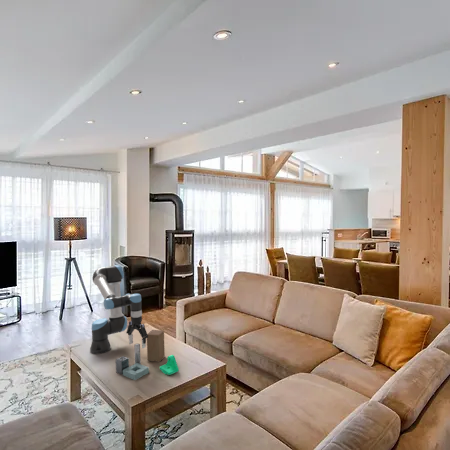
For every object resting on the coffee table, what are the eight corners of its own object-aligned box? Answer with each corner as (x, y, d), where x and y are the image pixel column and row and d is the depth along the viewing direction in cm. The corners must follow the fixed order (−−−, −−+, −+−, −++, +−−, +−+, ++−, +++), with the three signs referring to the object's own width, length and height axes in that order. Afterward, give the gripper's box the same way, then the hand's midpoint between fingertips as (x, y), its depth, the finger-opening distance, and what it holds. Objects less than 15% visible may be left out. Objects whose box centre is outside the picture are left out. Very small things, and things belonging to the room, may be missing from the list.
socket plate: (122, 375, 216) (122, 370, 216) (137, 367, 226) (136, 362, 225) (134, 380, 209) (134, 375, 209) (148, 372, 219) (148, 367, 219)
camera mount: (159, 370, 222) (158, 355, 221) (168, 366, 227) (168, 352, 227) (169, 376, 213) (168, 361, 213) (178, 372, 219) (178, 357, 218)
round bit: (133, 364, 231) (133, 345, 230) (138, 362, 234) (137, 343, 233) (137, 365, 228) (136, 346, 228) (141, 363, 232) (141, 344, 231)
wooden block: (159, 362, 233) (159, 335, 232) (146, 361, 235) (146, 334, 234) (165, 356, 243) (164, 329, 242) (152, 355, 245) (152, 329, 244)
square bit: (116, 372, 220) (115, 359, 219) (123, 368, 225) (123, 356, 224) (121, 374, 216) (121, 361, 216) (129, 371, 221) (128, 358, 221)
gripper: (120, 314, 234) (121, 343, 234) (144, 320, 219) (145, 351, 220) (129, 312, 240) (130, 340, 240) (152, 317, 226) (153, 347, 226)
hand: (137, 345), depth 230 cm, fingers open, 13 cm apart
